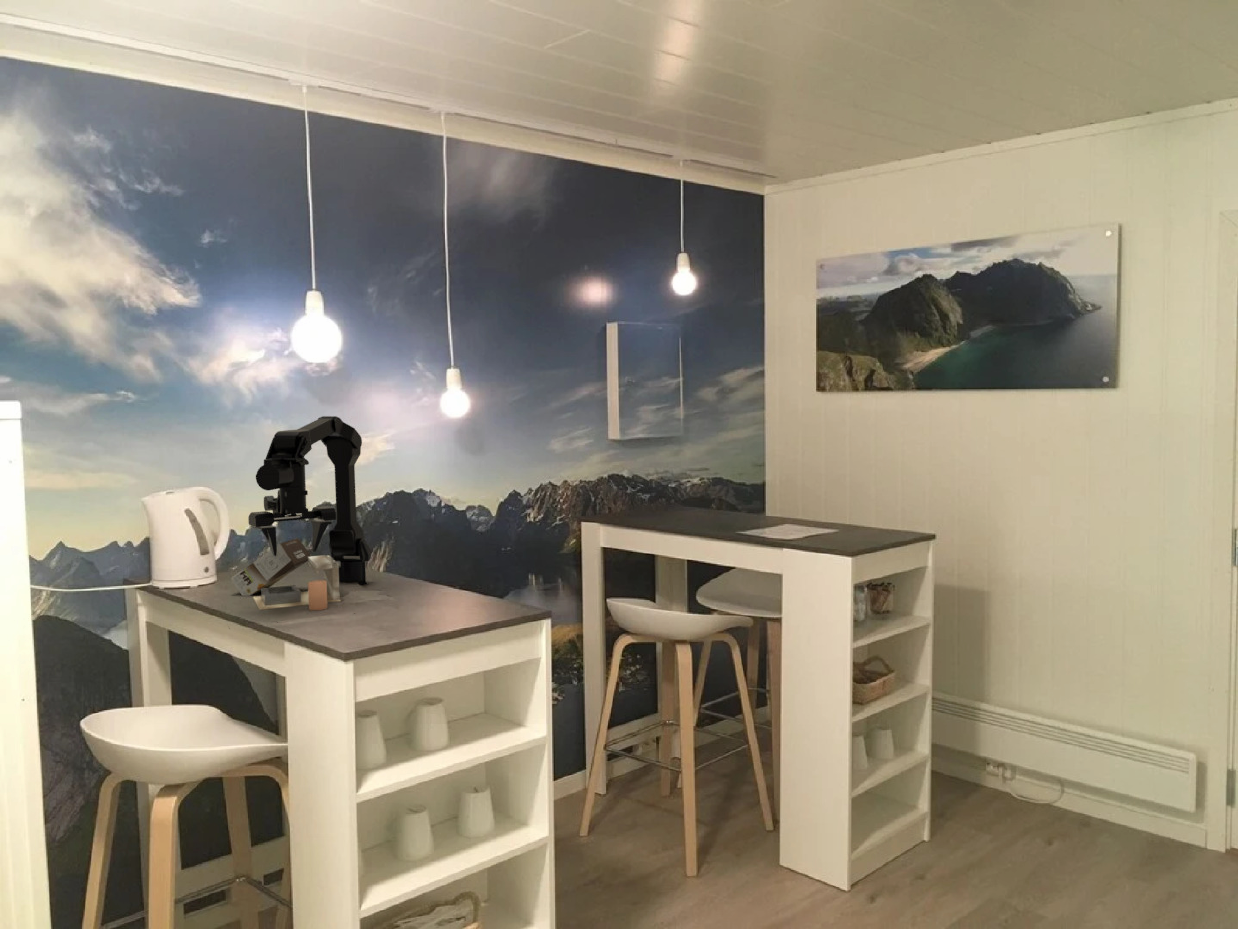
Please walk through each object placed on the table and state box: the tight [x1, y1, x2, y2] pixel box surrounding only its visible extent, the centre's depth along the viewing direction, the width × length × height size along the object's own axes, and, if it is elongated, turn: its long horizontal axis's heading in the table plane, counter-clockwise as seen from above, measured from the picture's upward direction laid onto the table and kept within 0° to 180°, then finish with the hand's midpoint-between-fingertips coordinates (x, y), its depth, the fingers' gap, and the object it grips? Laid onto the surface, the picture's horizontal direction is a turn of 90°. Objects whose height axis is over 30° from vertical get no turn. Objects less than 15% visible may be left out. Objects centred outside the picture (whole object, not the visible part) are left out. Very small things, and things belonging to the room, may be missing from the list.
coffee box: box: [230, 537, 312, 597], centre depth 238 cm, size 9×6×16 cm
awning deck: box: [252, 554, 342, 611], centre depth 231 cm, size 18×15×10 cm
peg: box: [307, 579, 328, 611], centre depth 221 cm, size 4×4×7 cm
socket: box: [260, 584, 302, 606], centre depth 230 cm, size 8×8×2 cm
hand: (294, 553), depth 224 cm, fingers open, 9 cm apart
